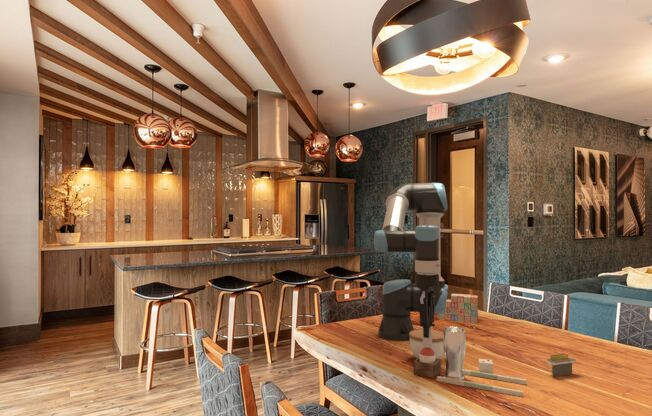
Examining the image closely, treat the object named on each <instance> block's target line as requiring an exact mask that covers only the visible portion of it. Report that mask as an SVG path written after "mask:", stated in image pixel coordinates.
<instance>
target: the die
mask: <svg viewBox="0 0 652 416" xmlns="http://www.w3.org/2000/svg"><path fill="white" fill-rule="evenodd" d="M478 372H484V373H490V374H494V363H493V360H492V359H485V358H478Z"/></svg>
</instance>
